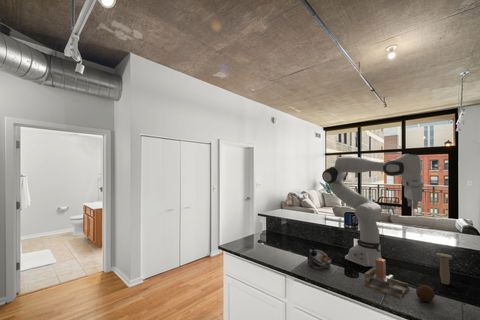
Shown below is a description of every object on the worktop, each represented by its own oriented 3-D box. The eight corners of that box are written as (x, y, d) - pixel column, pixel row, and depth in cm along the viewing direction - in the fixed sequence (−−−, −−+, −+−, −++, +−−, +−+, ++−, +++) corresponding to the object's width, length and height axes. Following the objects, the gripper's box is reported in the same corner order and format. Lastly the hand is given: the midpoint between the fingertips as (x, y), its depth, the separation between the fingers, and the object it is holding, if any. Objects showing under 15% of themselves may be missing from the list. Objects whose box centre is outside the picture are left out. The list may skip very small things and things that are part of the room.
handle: (437, 279, 125) (436, 252, 126) (453, 284, 120) (452, 255, 121) (437, 282, 122) (435, 254, 123) (453, 287, 117) (451, 257, 118)
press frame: (365, 285, 120) (364, 273, 120) (374, 277, 128) (374, 266, 128) (401, 297, 107) (400, 284, 108) (408, 288, 116) (408, 276, 116)
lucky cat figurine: (333, 265, 145) (336, 249, 139) (326, 278, 137) (328, 262, 131) (311, 253, 154) (313, 238, 148) (303, 265, 146) (304, 249, 140)
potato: (436, 298, 107) (435, 282, 108) (434, 308, 99) (433, 292, 99) (418, 292, 112) (417, 278, 112) (415, 302, 103) (414, 287, 104)
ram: (371, 282, 120) (370, 259, 121) (376, 278, 125) (375, 256, 125) (389, 288, 114) (388, 264, 114) (393, 283, 118) (392, 260, 119)
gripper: (400, 181, 137) (401, 204, 137) (409, 183, 119) (410, 209, 118) (413, 182, 135) (414, 205, 134) (424, 183, 116) (425, 210, 116)
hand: (412, 207), depth 126 cm, fingers open, 8 cm apart
